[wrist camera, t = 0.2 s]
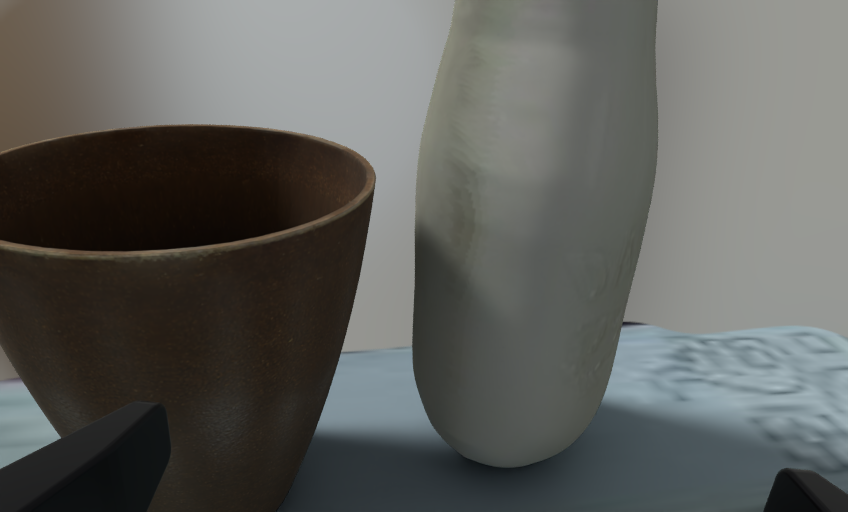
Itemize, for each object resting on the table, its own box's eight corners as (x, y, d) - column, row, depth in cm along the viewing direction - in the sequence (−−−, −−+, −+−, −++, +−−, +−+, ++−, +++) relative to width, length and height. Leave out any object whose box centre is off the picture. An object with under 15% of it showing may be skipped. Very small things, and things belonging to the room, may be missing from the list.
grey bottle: (458, 362, 40) (500, -140, 28) (613, 419, 35) (743, -150, 23) (373, 453, 32) (382, -193, 20) (559, 541, 27) (712, -223, 16)
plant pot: (388, 400, 36) (396, 134, 29) (340, 654, 22) (332, 269, 16) (143, 380, 37) (95, 115, 30) (-47, 615, 23) (-213, 230, 16)
